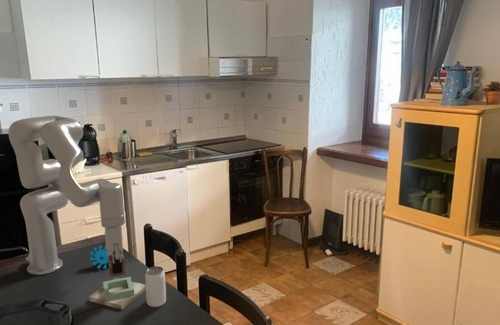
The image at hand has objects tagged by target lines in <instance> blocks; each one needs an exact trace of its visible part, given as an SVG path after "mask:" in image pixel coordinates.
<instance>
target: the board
mask: <svg viewBox="0 0 500 325" xmlns="http://www.w3.org/2000/svg"><path fill="white" fill-rule="evenodd" d="M116 279H121V278H119V277H114V278H113V279H112V280H116ZM132 284H133V288H134V295H131V296H126V297H121V298H116V299H112V300H107V301H105V294H104V288H103V286H102V287H101V288H98V289H97V290H96V291H95V292H93V293H92V294H90V295H89V296H88V301H89V302H93V303H96V304H100V305H103V306H107V307H110V308H114V309H117V310H124V309H125V308H126V307H128V305H130V304H131V303H132V302H133V301H135V300H136V299H137V298H138V297H140V295H142V294H143V293H144V292H146V283H145V284H144V283H140V282H135V281H132ZM123 289H128V286H127V285H122V286H117V287H111V288H109V292H113V291H118V290H123Z"/></svg>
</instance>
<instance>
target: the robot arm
mask: <svg viewBox="0 0 500 325" xmlns="http://www.w3.org/2000/svg"><path fill="white" fill-rule="evenodd" d="M83 136H84V130H83V126H82V125H81V123H79V121H77V120H76V119H74V118H71V117H65V116H59V115H45V116H37V117H29V118H27V117H26V118H21V119H18V120H15V121H14V122H12V123H11V124H10V125H9V128H8V138H9V142H10V144H11V147H12V148H13V150H14V154H15V156H16V158H15V159H16V163H17V168H18V169H17V170H18V175H19V178H20V179H19V180H20V182H21V186H23V187H24V188H25V189H29V190H30V189H38V188H40V189H38V190H34V191H31V192H28V193H26V194H25V195H23V196H22V197H21V199H20V201H19V205H20V209H21V213H22V215H23V218H24V222H25V228H26V234H27V242H28V243H27V244H28V249H29V250H28V252H29V253H28V255H27V256H26V257H25V260H26V261H27V262H29V264H28V265H27V268H26V269H27V273H28V274H31V275H34V276H42V275H47V274H51V273H55V272H56V271H58V270H59V269H60V268H62V266H63V265H64V264H63V260H62V259H61V258H59V257H58V249H57V240H56V231H55V225H54V222H53V220H52V219H51V218H50V217H49V216H48V214H50V213H51V212H55V211H57V210H60V209H63V208H65V207H67V205H68V204H69V202H70V203H71V204H73V206H75V207H77V208H85V207H87V206H90V205H94V204H95V203H96V204H97V203H99V210H100V211H99V212H100V222H101V223H100V224H101V227H102V228H104V238H105V246H106V250H105V251H107V254H108V256H111V255H112V259H113V263H112V269H113V274H116V273H121V272H123V268H122V261H121V254H122V253H123V252H124V244H123V229H122V226H123V225H125V224H126V220H125V206H124V193H123V187H122V185H121V184H120V183H117V182H111V181H109V180H107V179H104V178H97V179H94V180H89V181H86V182H83V183H80V184H79V183H78V182H77V180H76V179H75V178H74V176H73V174H72V169H73V168H74V167H76V165H78V164H79V163H80V162H81V161H82V160H83V158H84V151H83V150H82V148H80V146H79V145H78V141H80V140H81V139H83ZM36 141H37V142H38V141H43V143H44V144H45V145H46V147H47V148H48V149H49V151H50V152H51V154H52V155H53V157H54V158H49V159H48V158H47V159H45V160H43V155H42V153H43V152H42V150H41V148H40V147H39V146H38V145H37V144H36V143H35V142H36ZM44 186H48V187H45V188H41V187H44ZM123 254H124V253H123ZM114 256H115V258H114Z"/></svg>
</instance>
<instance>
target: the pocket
mask: <svg viewBox="0 0 500 325" xmlns="http://www.w3.org/2000/svg"><path fill="white" fill-rule="evenodd" d="M132 282H133V281H132V277H131V276H126V277H121V278H120V279H116V280H113V279H111V280H110V279H109V280H106V281H103V282H102V287H103V288H104V294H105V301H107V300H112V299H116V298H121V297H126V296H131V295H134V288H133V284H132ZM122 285H127V286H128V289H123V290H118V291H113V292H109V288H111V287H117V286H122Z"/></svg>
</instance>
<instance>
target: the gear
mask: <svg viewBox="0 0 500 325" xmlns="http://www.w3.org/2000/svg"><path fill="white" fill-rule="evenodd" d="M102 248H104V249H102ZM97 249H98V251H97ZM89 255H90V257H89V261H90V262H91V261H93V262H92V263H91V266H92V267H95V266H96V265H97V266H96V268H97V269H98V270H100V269H101V267H102V265H103V267H102V269H103V270H107V266H108V268H109V263H108V254H107V250H106V245H105V246H104V247H103V245H99V246H98V247H94V248H92V251H90V253H89Z"/></svg>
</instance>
